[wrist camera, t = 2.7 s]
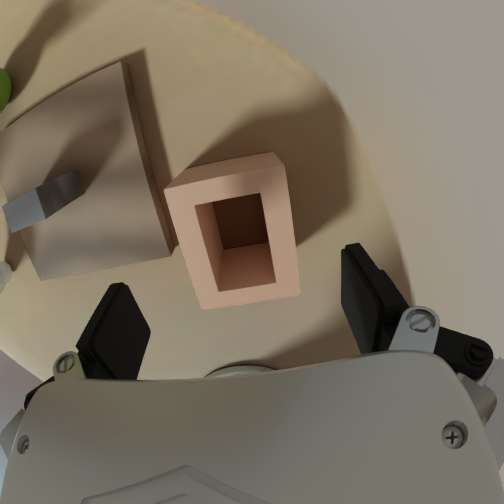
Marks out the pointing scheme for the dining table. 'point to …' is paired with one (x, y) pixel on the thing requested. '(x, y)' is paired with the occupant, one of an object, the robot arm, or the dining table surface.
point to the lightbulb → (4, 274)
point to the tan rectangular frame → (241, 258)
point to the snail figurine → (4, 88)
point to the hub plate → (83, 180)
